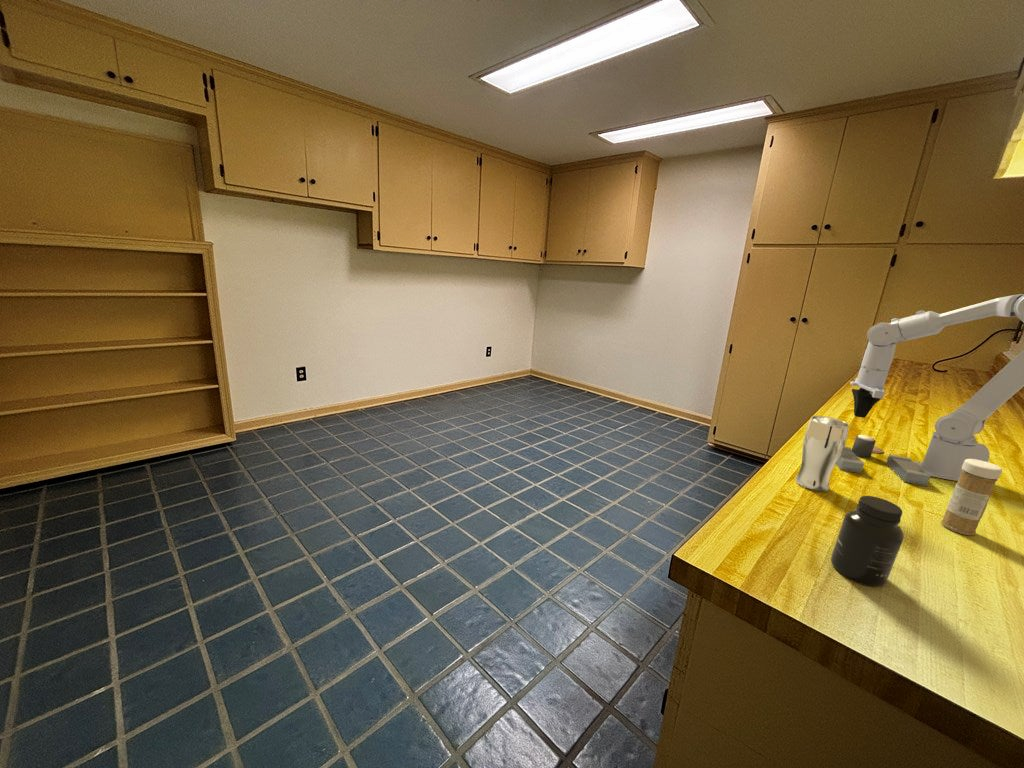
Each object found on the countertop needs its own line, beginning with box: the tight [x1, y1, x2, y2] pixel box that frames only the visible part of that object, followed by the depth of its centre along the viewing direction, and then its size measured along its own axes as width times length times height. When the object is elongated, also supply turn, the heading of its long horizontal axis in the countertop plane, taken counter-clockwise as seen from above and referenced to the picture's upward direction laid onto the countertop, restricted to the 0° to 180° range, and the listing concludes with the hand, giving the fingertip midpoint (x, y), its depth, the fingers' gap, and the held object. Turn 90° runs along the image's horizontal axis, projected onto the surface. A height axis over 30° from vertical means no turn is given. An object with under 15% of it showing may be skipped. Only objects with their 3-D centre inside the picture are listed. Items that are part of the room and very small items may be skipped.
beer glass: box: [794, 415, 850, 493], centre depth 88 cm, size 7×7×15 cm
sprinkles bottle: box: [940, 459, 1003, 536], centre depth 74 cm, size 5×5×14 cm
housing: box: [835, 446, 932, 488], centre depth 99 cm, size 16×10×3 cm, turn 67°
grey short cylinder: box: [851, 434, 877, 459], centre depth 107 cm, size 4×4×5 cm
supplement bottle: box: [830, 495, 905, 587], centre depth 61 cm, size 7×7×12 cm
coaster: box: [872, 445, 883, 454], centre depth 112 cm, size 6×6×1 cm
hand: (859, 416), depth 112 cm, fingers closed
